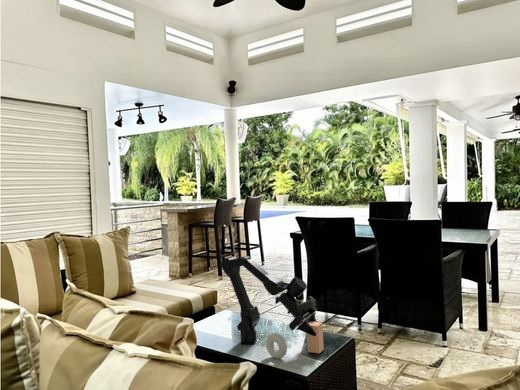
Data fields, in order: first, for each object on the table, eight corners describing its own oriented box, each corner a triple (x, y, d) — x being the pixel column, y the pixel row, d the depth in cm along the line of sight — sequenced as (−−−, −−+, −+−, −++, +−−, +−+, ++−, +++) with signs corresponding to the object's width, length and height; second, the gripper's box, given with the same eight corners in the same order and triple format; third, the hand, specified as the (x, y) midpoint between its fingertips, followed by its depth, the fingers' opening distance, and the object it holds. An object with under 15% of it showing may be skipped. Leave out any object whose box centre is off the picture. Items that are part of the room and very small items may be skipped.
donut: (264, 357, 163) (263, 332, 163) (270, 354, 165) (268, 329, 165) (284, 362, 156) (282, 336, 156) (289, 359, 159) (288, 334, 159)
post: (307, 351, 164) (306, 324, 164) (312, 347, 169) (310, 321, 169) (319, 353, 162) (317, 326, 162) (323, 349, 166) (322, 322, 166)
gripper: (294, 297, 159) (322, 328, 154) (311, 286, 175) (337, 314, 170) (277, 315, 163) (304, 346, 157) (296, 303, 179) (321, 330, 174)
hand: (318, 333), depth 165 cm, fingers closed on post, 5 cm apart
